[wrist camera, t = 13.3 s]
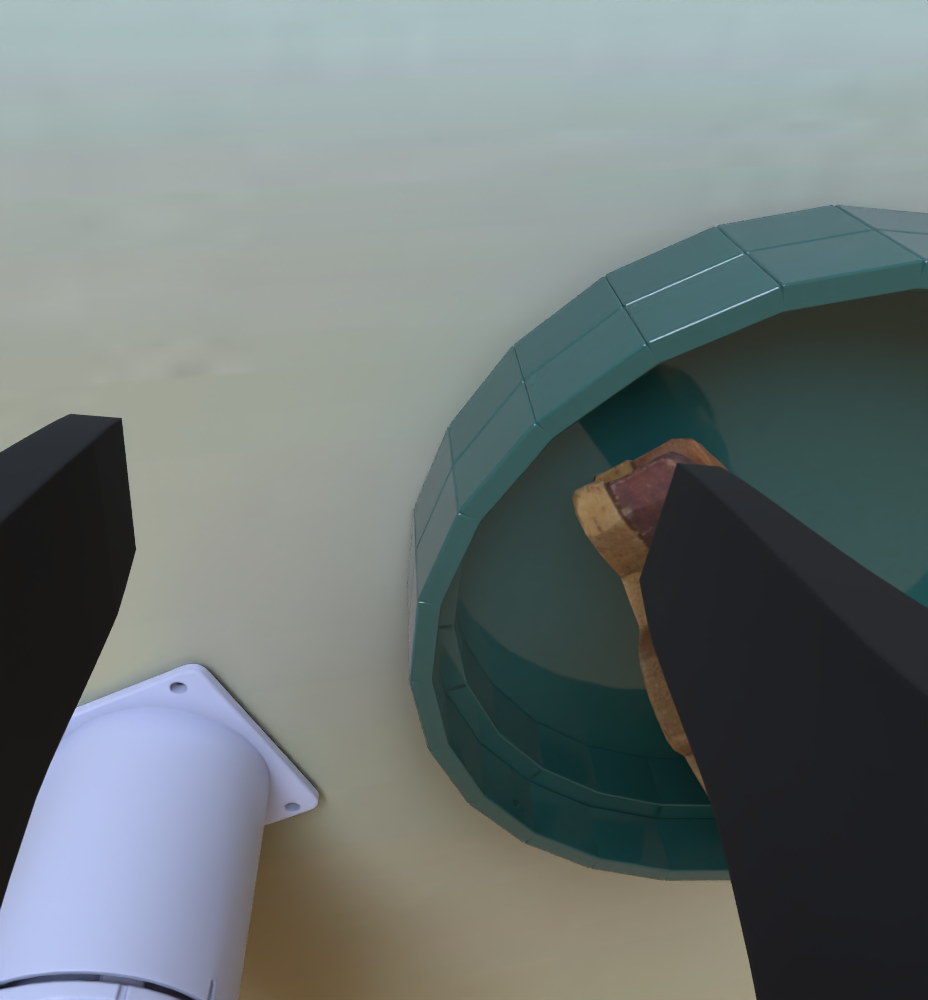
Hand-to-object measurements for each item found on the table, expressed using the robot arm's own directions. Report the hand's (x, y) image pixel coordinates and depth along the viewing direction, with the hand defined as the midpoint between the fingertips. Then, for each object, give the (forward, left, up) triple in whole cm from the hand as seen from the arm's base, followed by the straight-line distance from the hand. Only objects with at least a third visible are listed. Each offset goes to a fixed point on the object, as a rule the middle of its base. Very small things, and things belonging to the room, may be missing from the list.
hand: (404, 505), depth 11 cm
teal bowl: (+6, -13, -10) cm, 17 cm away
